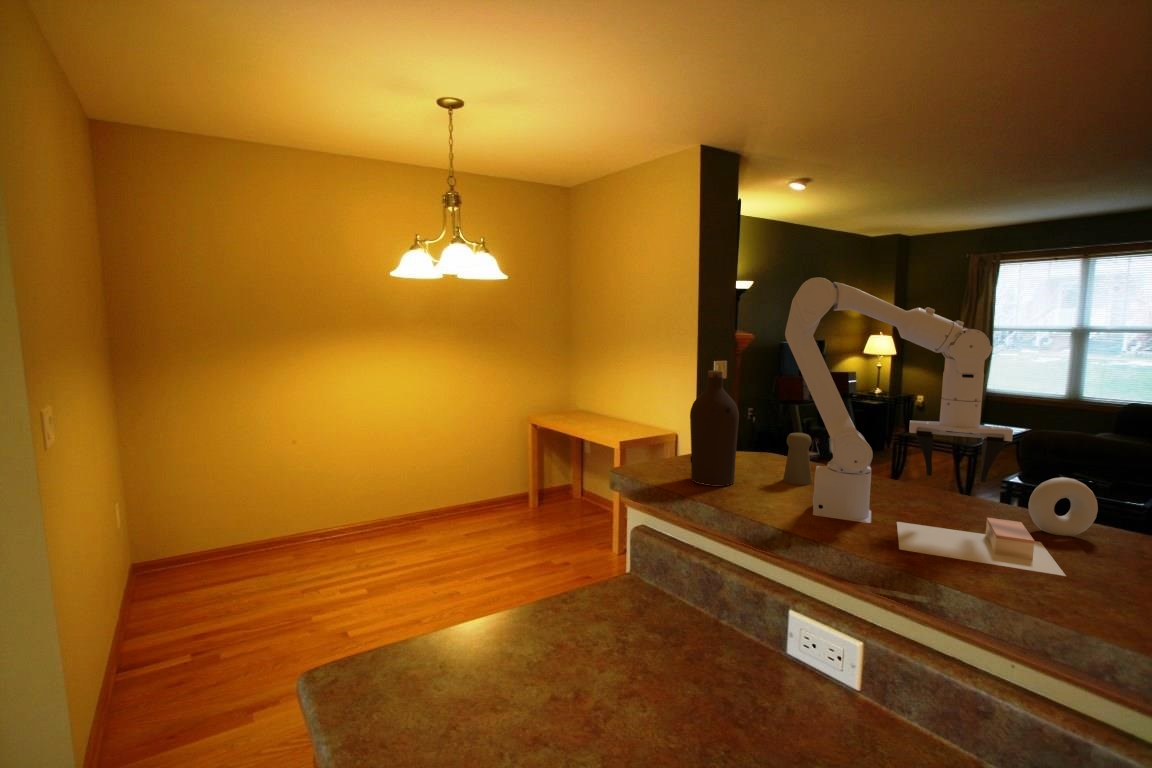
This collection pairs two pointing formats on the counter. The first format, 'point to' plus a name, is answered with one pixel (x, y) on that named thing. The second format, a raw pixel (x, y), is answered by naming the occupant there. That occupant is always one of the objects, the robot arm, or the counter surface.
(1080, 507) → the donut
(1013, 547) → the pink and beige box
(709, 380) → the olive oil
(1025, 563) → the mat
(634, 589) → the counter surface
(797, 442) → the cork
